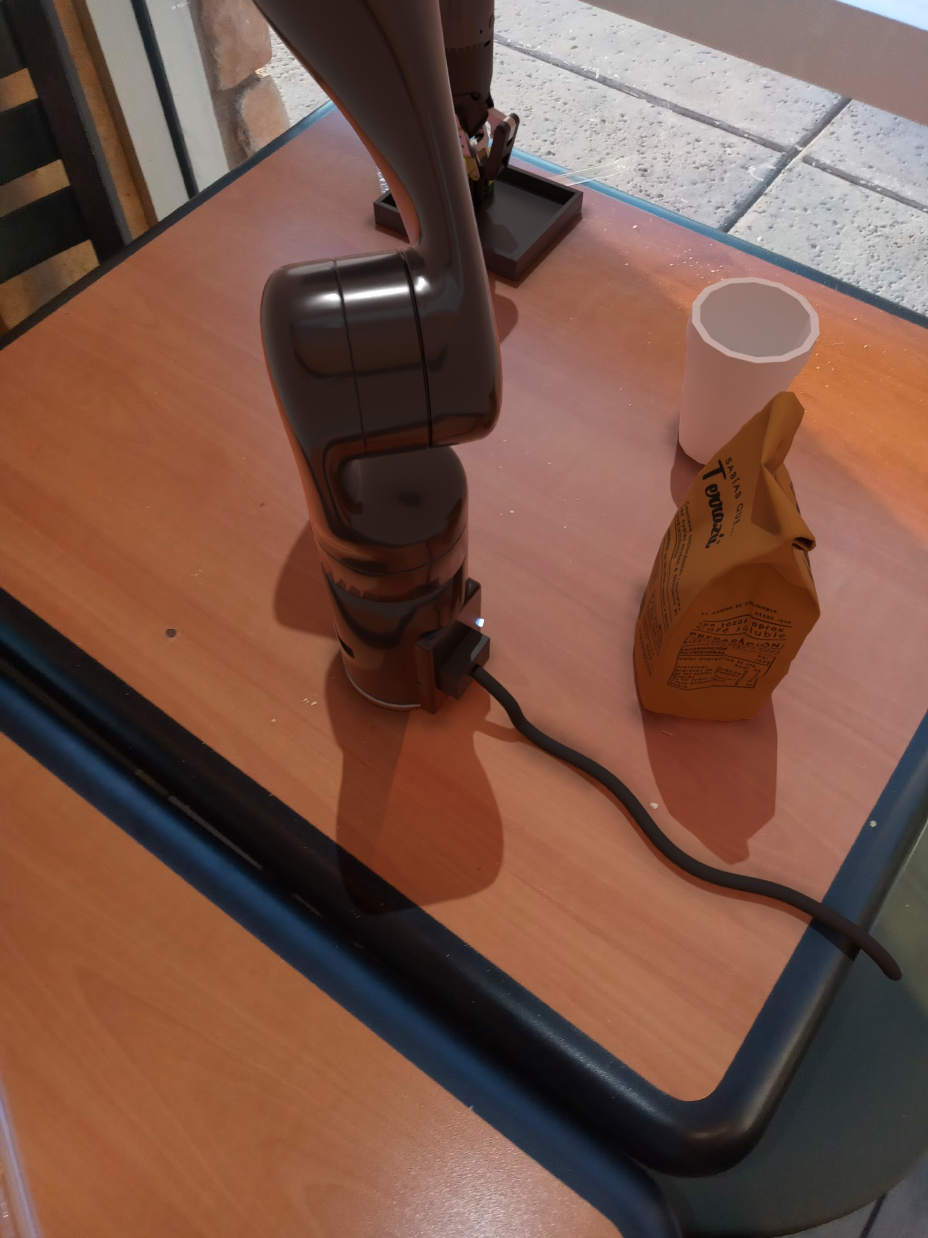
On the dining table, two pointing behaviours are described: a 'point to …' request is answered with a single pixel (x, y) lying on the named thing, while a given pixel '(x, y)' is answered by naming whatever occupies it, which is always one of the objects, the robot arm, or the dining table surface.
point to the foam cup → (740, 357)
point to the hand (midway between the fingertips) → (454, 197)
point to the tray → (510, 218)
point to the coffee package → (730, 580)
